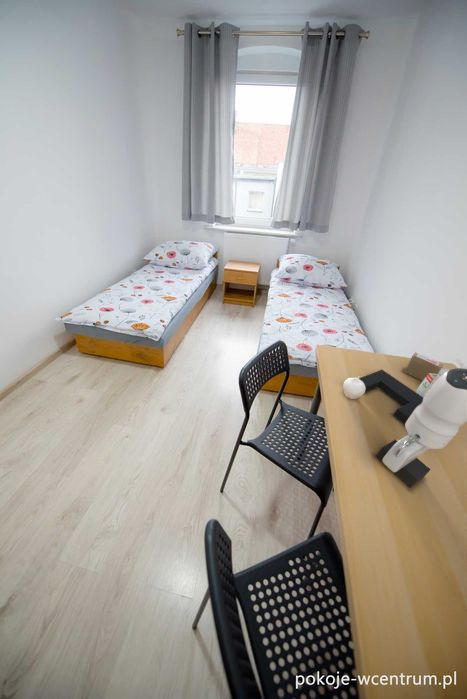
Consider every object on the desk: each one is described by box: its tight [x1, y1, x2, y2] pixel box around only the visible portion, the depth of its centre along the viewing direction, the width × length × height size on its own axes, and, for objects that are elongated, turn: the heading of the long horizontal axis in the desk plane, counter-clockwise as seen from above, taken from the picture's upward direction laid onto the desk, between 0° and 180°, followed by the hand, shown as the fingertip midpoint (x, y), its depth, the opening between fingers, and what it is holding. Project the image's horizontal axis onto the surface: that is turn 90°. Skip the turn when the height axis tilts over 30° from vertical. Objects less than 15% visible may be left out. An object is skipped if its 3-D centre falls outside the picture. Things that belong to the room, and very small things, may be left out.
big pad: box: [359, 369, 423, 425], centre depth 96 cm, size 20×14×3 cm
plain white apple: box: [342, 375, 366, 400], centre depth 93 cm, size 7×7×8 cm
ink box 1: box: [403, 352, 444, 382], centre depth 106 cm, size 10×4×8 cm, turn 48°
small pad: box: [375, 439, 431, 489], centre depth 73 cm, size 10×6×4 cm, turn 31°
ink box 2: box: [415, 367, 451, 398], centre depth 94 cm, size 4×8×15 cm, turn 85°
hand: (401, 463), depth 73 cm, fingers closed on small pad, 6 cm apart
